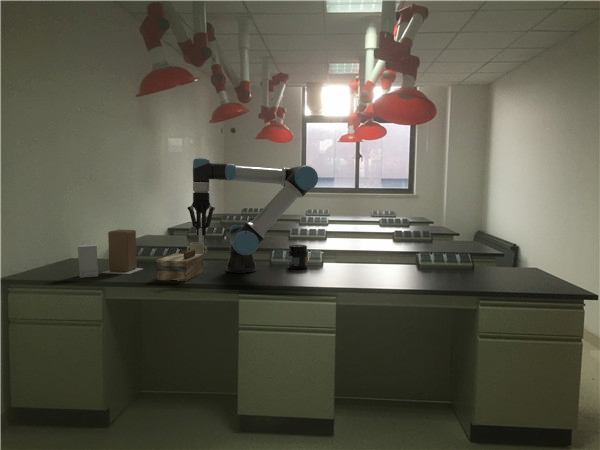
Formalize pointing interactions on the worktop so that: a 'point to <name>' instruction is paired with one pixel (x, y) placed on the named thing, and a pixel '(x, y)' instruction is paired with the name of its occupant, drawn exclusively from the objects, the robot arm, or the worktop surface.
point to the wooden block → (122, 250)
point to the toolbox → (179, 270)
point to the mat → (124, 272)
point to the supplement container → (297, 257)
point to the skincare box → (88, 260)
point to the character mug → (197, 248)
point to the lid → (181, 257)
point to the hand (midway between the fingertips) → (201, 242)
